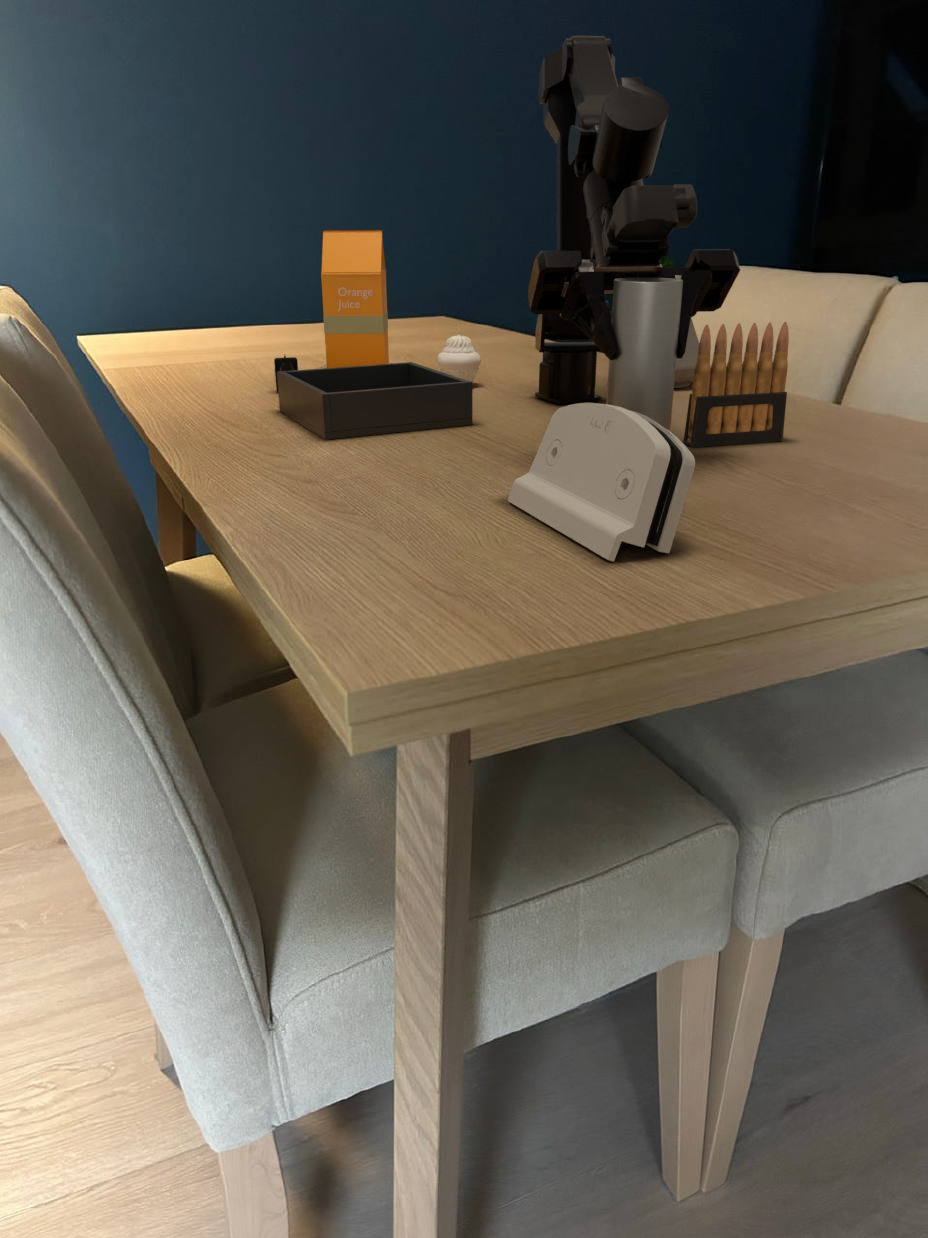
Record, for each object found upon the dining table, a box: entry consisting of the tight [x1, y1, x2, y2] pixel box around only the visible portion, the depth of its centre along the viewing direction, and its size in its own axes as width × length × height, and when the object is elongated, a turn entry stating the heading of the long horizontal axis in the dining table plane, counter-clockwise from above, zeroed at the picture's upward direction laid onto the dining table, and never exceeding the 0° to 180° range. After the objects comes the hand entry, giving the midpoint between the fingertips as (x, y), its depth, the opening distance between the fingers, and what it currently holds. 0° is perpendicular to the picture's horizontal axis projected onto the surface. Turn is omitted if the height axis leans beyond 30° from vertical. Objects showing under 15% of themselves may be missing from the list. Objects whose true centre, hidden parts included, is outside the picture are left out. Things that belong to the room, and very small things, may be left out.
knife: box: [273, 354, 299, 392], centre depth 129 cm, size 31×3×4 cm, turn 8°
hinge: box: [507, 402, 696, 563], centre depth 71 cm, size 17×5×10 cm, turn 23°
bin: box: [277, 361, 474, 441], centre depth 110 cm, size 18×18×5 cm
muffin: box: [436, 333, 482, 383], centre depth 130 cm, size 6×6×7 cm
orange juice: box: [320, 229, 390, 368], centre depth 140 cm, size 8×9×20 cm
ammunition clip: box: [682, 321, 790, 448], centre depth 96 cm, size 11×2×12 cm, turn 105°
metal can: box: [606, 277, 683, 431], centre depth 85 cm, size 6×6×13 cm
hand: (647, 356), depth 84 cm, fingers closed on metal can, 6 cm apart
